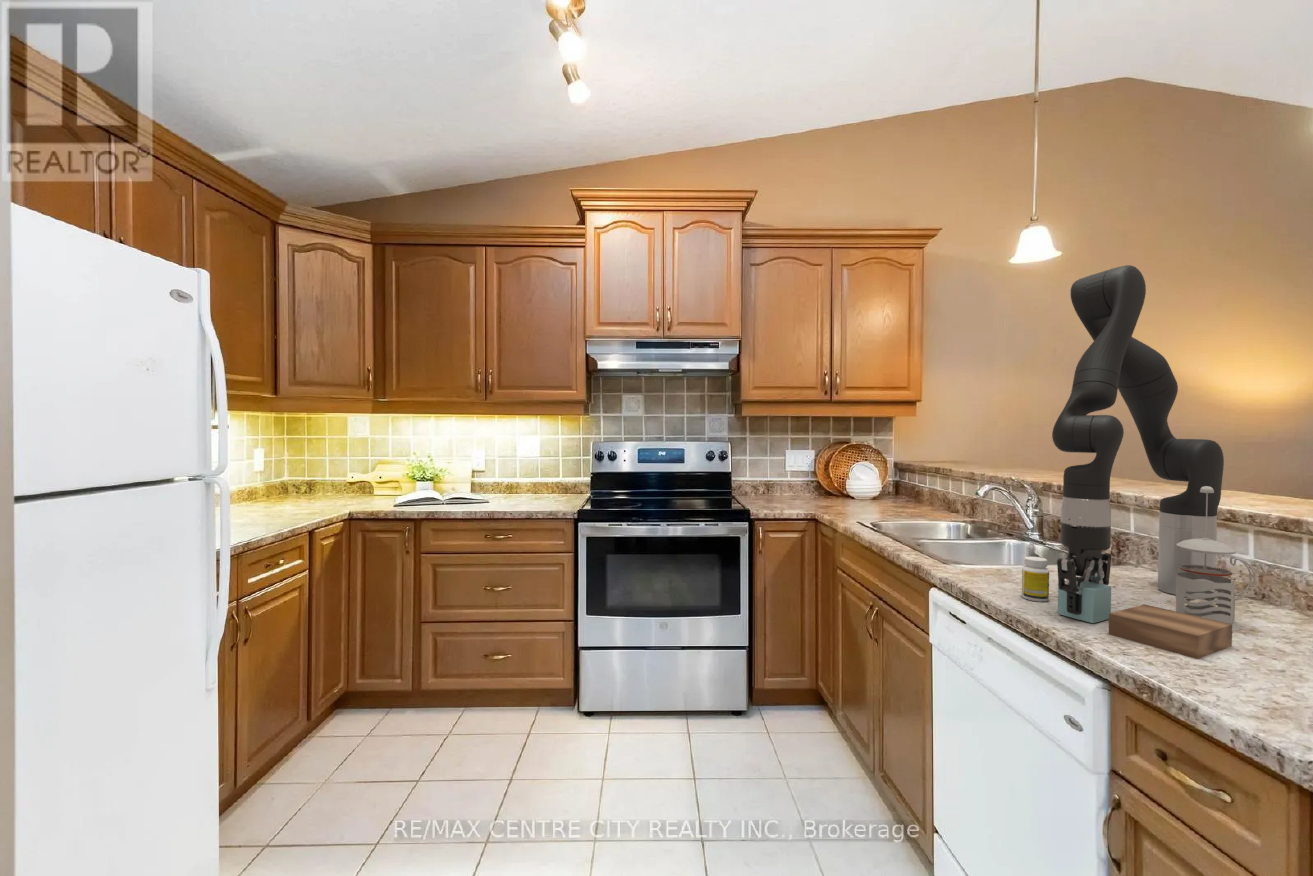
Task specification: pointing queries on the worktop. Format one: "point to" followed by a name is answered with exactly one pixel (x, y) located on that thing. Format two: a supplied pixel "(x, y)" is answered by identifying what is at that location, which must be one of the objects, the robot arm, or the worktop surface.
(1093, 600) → the teal cube
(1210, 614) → the french press
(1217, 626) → the walnut block
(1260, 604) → the worktop surface
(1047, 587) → the supplement bottle
